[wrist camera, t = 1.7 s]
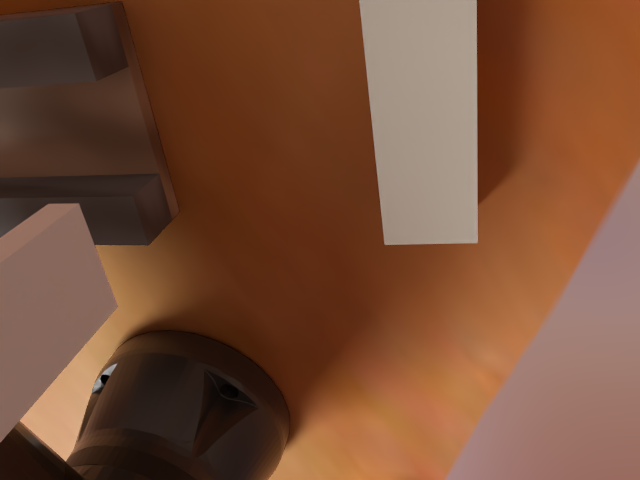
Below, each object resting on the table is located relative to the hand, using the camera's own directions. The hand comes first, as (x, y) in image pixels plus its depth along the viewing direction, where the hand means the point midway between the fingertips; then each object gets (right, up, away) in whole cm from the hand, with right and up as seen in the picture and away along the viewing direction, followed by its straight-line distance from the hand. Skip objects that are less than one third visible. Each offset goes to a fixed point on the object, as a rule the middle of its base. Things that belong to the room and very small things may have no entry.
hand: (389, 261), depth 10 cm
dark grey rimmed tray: (-17, +7, +21) cm, 29 cm away
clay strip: (+4, +9, +15) cm, 18 cm away
